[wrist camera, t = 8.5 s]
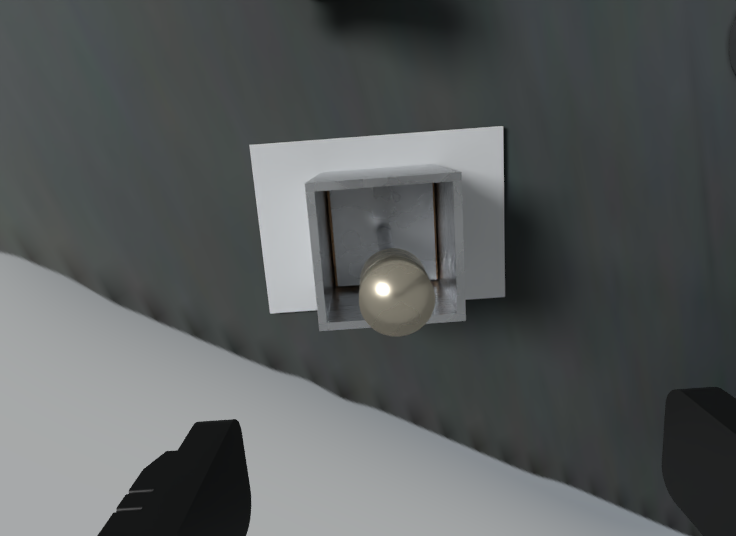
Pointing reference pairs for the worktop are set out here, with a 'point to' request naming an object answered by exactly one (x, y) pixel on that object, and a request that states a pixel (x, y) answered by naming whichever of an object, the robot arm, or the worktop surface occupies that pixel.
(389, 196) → the plunger
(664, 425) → the robot arm
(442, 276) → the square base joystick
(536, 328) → the worktop surface
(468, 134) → the tray
